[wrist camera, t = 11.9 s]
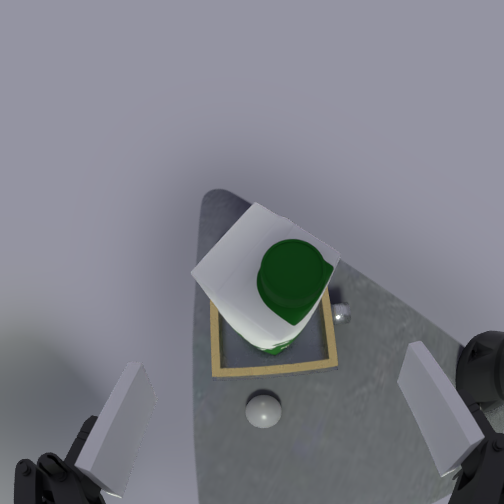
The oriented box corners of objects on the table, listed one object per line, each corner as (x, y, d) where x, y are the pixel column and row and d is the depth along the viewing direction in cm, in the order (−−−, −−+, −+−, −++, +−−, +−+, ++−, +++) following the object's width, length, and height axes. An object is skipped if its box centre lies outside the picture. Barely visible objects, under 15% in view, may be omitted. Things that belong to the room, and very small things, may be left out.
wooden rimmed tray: (335, 268, 43) (345, 247, 36) (350, 367, 36) (366, 364, 29) (216, 278, 44) (206, 259, 37) (220, 380, 36) (208, 380, 30)
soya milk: (276, 365, 32) (281, 351, 14) (221, 323, 35) (166, 261, 17) (316, 311, 35) (360, 236, 17) (262, 273, 38) (251, 173, 20)
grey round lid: (279, 393, 35) (280, 393, 34) (282, 425, 33) (282, 426, 32) (245, 395, 36) (244, 396, 34) (247, 427, 33) (246, 428, 32)
